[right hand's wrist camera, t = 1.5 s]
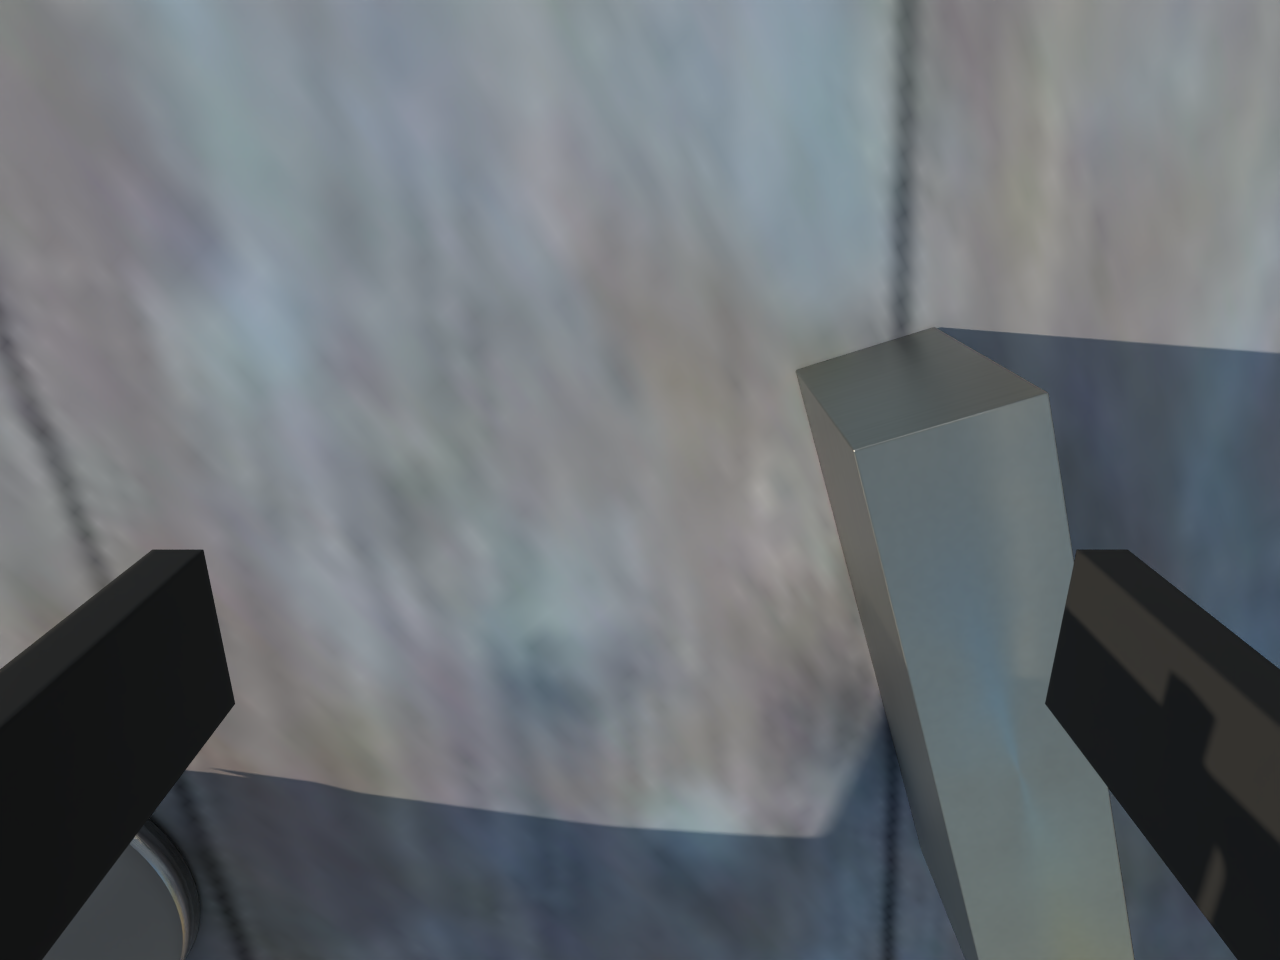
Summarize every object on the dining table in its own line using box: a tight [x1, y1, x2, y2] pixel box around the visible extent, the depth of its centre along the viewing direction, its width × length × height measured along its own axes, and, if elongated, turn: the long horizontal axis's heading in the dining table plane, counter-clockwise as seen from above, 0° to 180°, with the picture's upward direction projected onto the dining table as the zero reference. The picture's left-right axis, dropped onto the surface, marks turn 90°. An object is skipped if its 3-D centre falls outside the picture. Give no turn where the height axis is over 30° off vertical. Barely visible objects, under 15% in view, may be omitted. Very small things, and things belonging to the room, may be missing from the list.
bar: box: [796, 327, 1134, 960], centre depth 30 cm, size 24×5×9 cm, turn 18°
